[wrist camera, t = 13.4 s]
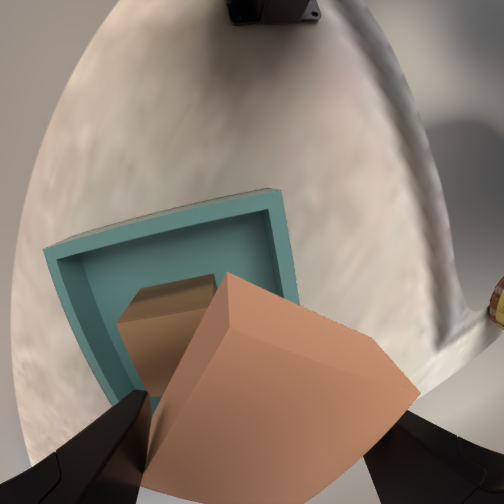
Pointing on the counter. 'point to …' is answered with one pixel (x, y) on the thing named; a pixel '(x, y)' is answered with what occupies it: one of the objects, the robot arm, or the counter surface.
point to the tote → (165, 269)
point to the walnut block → (164, 327)
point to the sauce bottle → (498, 304)
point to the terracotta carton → (269, 403)
